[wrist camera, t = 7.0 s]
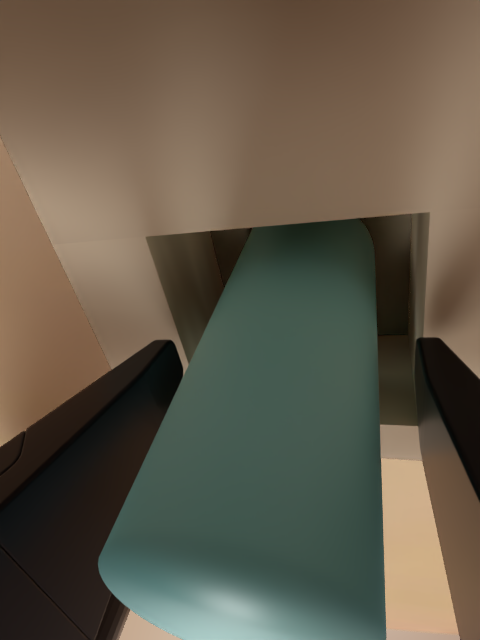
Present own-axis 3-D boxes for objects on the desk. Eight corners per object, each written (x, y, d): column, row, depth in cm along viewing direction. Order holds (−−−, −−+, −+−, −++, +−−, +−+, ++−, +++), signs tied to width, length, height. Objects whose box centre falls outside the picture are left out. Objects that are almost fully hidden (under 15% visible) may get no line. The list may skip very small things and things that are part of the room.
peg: (373, 190, 11) (386, 558, 4) (375, 309, 13) (386, 691, 6) (235, 204, 12) (51, 514, 5) (257, 313, 14) (148, 640, 7)
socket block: (488, 368, 13) (519, 467, 11) (183, 365, 16) (146, 442, 13) (662, -652, 5) (1039, -1467, 2) (-41, -272, 8) (-260, -409, 5)
